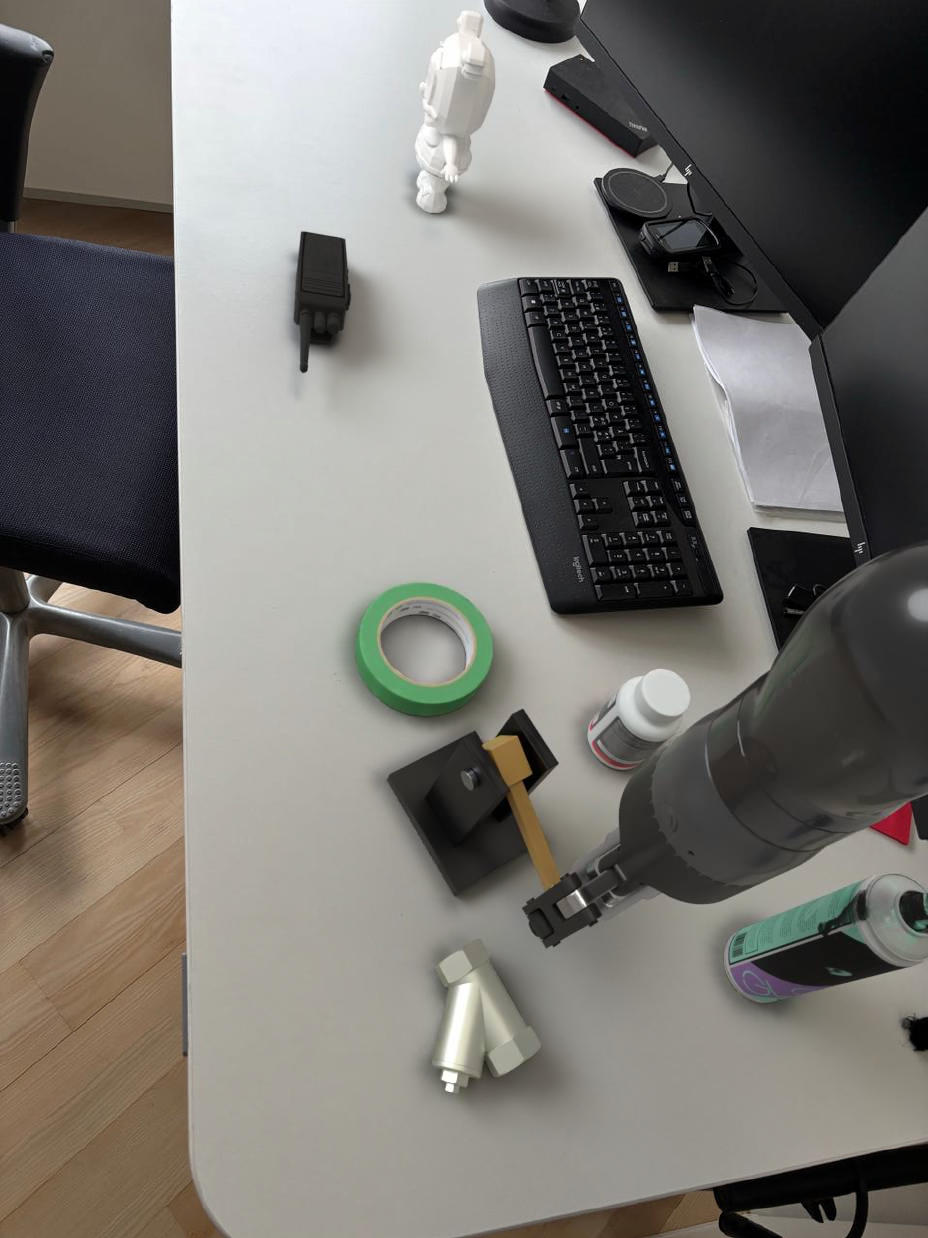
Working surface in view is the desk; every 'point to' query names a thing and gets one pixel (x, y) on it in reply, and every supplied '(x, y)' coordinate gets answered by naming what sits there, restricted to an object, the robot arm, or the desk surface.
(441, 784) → the black mounting base
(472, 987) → the pipe fitting
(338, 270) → the walkie-talkie
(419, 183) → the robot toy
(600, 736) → the pill bottle
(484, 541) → the desk surface
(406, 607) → the tape roll
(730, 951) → the spray can
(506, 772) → the faucet lever
